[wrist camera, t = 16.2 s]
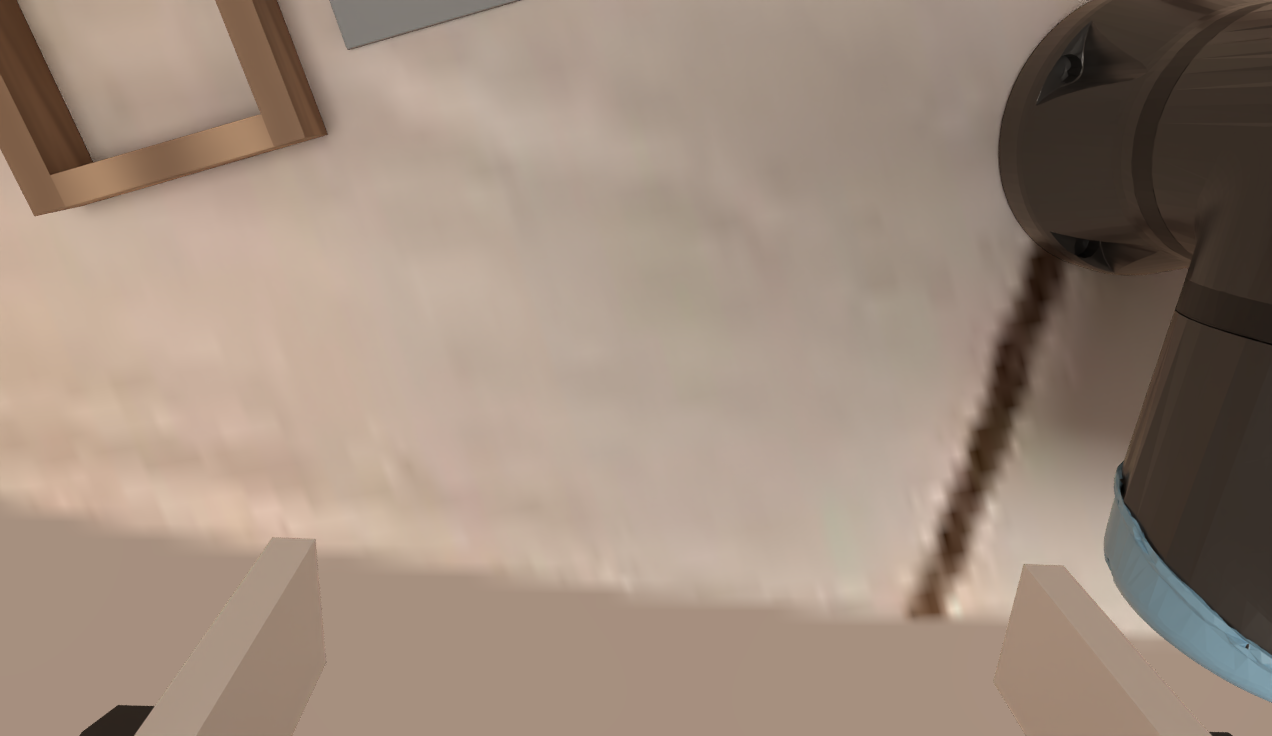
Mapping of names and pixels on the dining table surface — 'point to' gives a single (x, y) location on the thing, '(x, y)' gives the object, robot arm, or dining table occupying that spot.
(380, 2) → the slate mat
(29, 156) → the walnut collar
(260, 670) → the robot arm
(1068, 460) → the dining table surface
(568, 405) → the dining table surface
